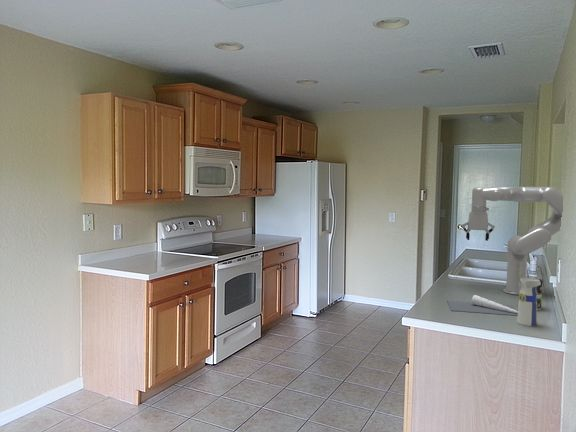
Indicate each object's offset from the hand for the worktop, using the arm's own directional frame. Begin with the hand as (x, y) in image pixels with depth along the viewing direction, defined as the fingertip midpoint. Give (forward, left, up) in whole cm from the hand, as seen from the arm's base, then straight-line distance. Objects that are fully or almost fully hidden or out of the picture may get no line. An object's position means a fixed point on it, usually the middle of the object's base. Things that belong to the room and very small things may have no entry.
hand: (477, 240), depth 258 cm
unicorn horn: (-3, +41, -28) cm, 49 cm away
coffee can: (-20, +32, -28) cm, 47 cm away
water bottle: (-12, +60, -28) cm, 68 cm away
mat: (+3, +40, -28) cm, 49 cm away
